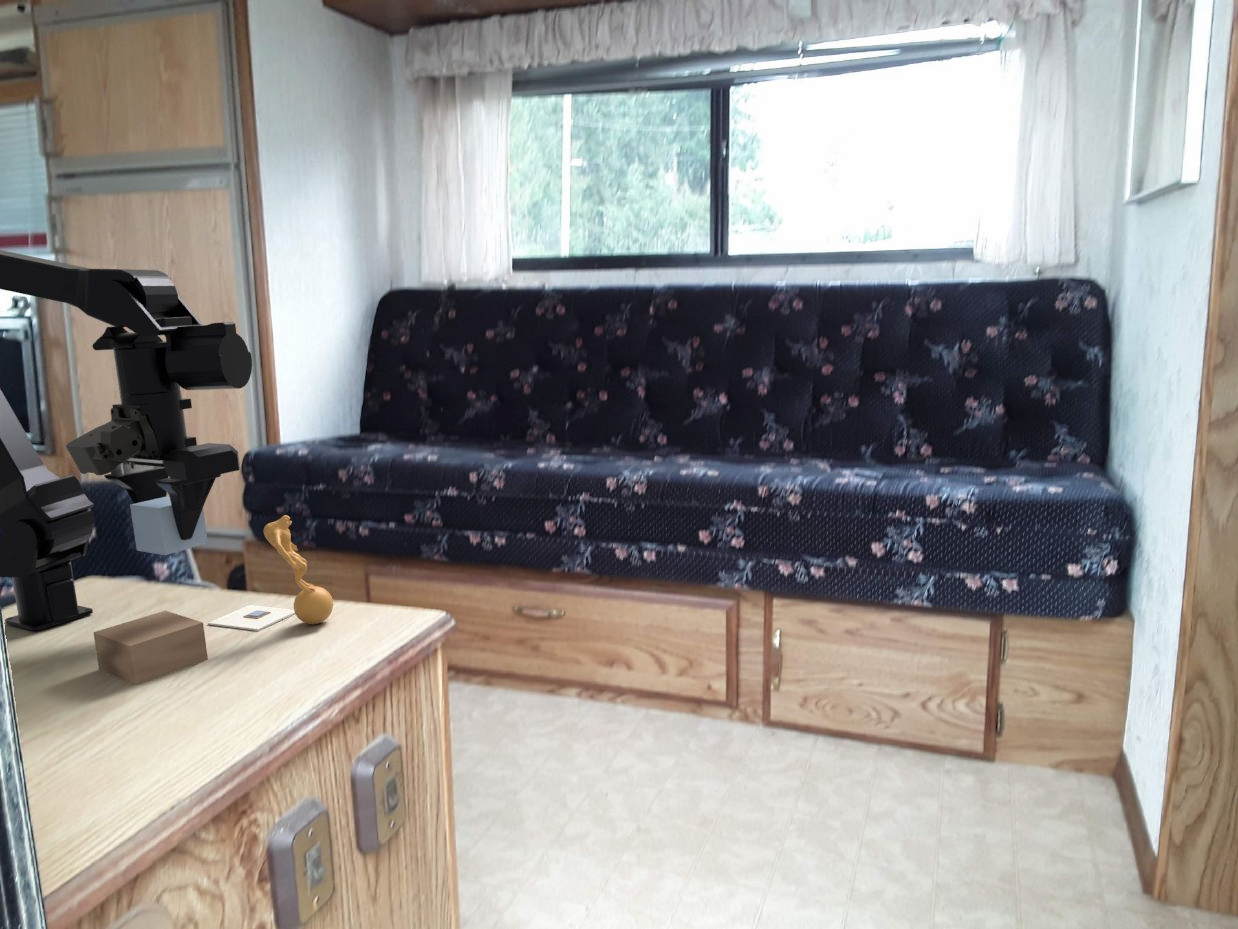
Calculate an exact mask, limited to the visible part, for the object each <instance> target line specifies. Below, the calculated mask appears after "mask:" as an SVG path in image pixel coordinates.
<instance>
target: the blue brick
mask: <svg viewBox="0 0 1238 929" xmlns="http://www.w3.org/2000/svg"><path fill="white" fill-rule="evenodd" d="M129 506H130V514H131V519H132V520H131V521H132V526H133V534H134V541H135V547H136V551H139V552H145V553H150V554H155V555H162V556H167V555H171V554H173V553H178V552H182V551H185V550H188V549H193V548H195V547H200V546H203V545H205V544H208V536H207V528H206V527H207V525H206V519H205V512H204V508H203V509H202V512H201V514H200V517H199V520H198V523H197V525H196V528H195V531H194V534H193V536H192V538H191V539H188V540H181V538H180V535H179V532H178V529H177V526H176V522H175V517H174V513H173V509H172V505H171V501H170V497H169V495H166V497H162V498H157V499H153V500H149V501H144V502H140V503H135V504H134V503H132V504H129Z"/></svg>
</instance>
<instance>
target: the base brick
mask: <svg viewBox="0 0 1238 929" xmlns="http://www.w3.org/2000/svg"><path fill="white" fill-rule="evenodd" d="M93 638H94V644H95V645H94V646H95V651H96V659H97V665H98V670H99V671H101V672H103V673H106V674H108V675H110V676H113V677H115V678H117V679H120V680H122V681H124V682H126V683H129V684H132V685H134V686H137V685H140V684H142V683H146V682H149V681H153V680H155V679H158V678H160V677H163V676H165V675H169V674H171V673H174V672H177V671H180V670H183V669H184V668H188V667H191V666H194V665H196V664H198V663H202V662H205V661H207V660H208V659H209V658H208V650H207V643H206V635H205V628H204V622H202V621H200V620H197V619H193V618H190V617H187V616H184V615H181V614H178V613H175V612H171V611H168V610H162V611H159V612H157V613H156V612H155V613H153V614H152V613H151V614H149V615H147V616H143V617H142V616H141V617H139V618H137V619H132V620H129V621H126V622H122V623H119V624H116V625H113V626H110V627H109V626H108V627H107V628H103V629H100V630H96V631H93Z"/></svg>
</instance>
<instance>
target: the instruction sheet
mask: <svg viewBox="0 0 1238 929" xmlns="http://www.w3.org/2000/svg"><path fill="white" fill-rule="evenodd" d="M293 614H294V615H296V614H295V612H294V609H288V608H279V607H272V606H271V607H270V606H263V605H252V604H249V605H247V606H244V607H242V608H239V609H236V610H235V611H232V612H230V613H228V614H226V615H223V616H220V617H219V618H218V617H217V618H216V619H214V620H211V621H209V622H207V624H208V625H210V626H217V627H224V628H232V629H233V628H234V629H241V630H249V631H255V632H259V631H262V630H264V629H266V628H268V627H271V626H272V625H274V624H277V623H279V622H281V621H283V620H285V619H287V618H289V617H292V616H294V615H293ZM291 615H292V616H291ZM282 619H283V620H282Z"/></svg>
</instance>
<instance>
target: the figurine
mask: <svg viewBox="0 0 1238 929" xmlns="http://www.w3.org/2000/svg"><path fill="white" fill-rule="evenodd" d="M290 519H291V517H290V516H289V515H286V514H285V515H283V516H281V517H280V518H279V519H277V520H275V521H273V522H269V523H267V524H265V526H264V528H263V534H264V537H265V539H266V540H267V541H268V542H269V544H270V545H271V546H272V547H273V548H275V549H276V551H277V553H278V555H281V556H282V558H283V559H284V561H286V562H287V564H288V565H289V566H291V568H292V570H293V571H294V580H295V584H297V586H299V588H301V590H300V592H298V594H297V595H296V596H295V598H294V601H293V610H294V612H295V614H294V615H295V617H297V619H299V621H301V622H303V623H304V624H307V625H317V624H320V623H323V622H324V621H326V620H327V619H328V618H329V617H330V615H331V613H332V612H333V609H334V600H333V597H332V595H331V594H330V592H329V591H328V590H327V589H325V588H324V587H321V586H316V585H314V584H313V583H308V582H306V581H304V580H303V579H302V578H303V577H304V575H305V574H306V573H307V571H308V565H307V564H308V563H307V559H305V558H304V557H302V556H301V555H300V554H299V553H297V551H299V549H298V548H297V547H298V546H297V545H295V544H294V543H293V542H292V540H291V538H292V537H291V536H292V534H291V530H290V529H289V527H290V526H291V525H292V524H293V523H292V522H293V521H292V520H290Z"/></svg>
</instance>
